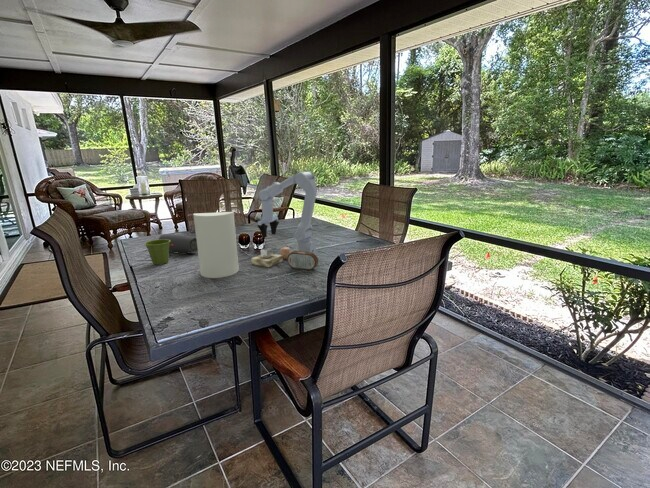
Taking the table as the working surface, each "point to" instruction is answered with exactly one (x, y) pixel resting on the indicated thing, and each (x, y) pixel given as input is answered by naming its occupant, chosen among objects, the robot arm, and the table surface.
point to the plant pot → (158, 250)
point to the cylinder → (216, 244)
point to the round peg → (285, 252)
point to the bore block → (267, 260)
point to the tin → (302, 260)
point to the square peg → (266, 253)
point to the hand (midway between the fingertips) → (269, 235)
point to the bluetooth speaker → (181, 243)
